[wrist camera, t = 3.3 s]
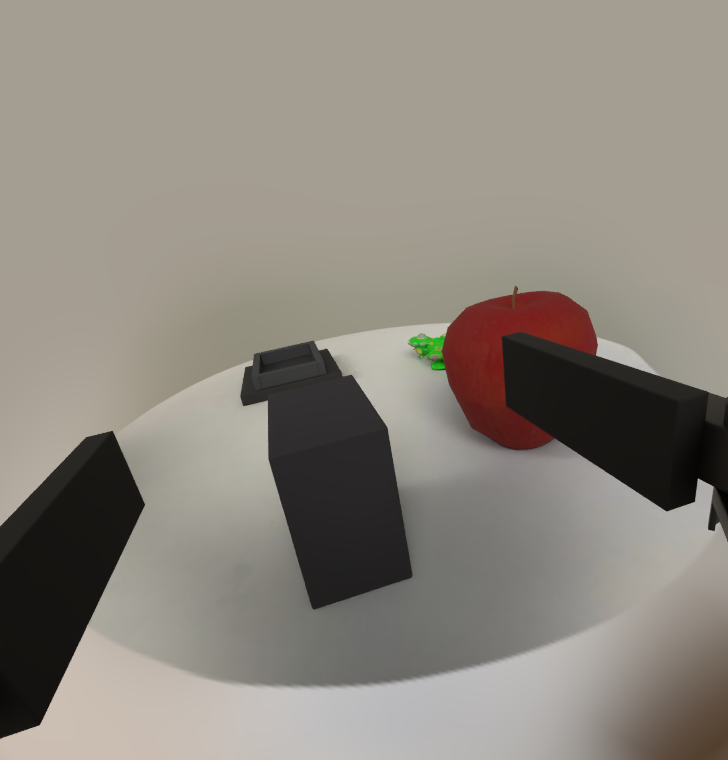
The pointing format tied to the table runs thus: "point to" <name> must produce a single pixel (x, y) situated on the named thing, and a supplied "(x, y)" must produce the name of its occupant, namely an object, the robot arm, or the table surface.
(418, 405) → the table surface
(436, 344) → the crocodile figurine
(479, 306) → the apple
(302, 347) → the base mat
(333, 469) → the pad block
